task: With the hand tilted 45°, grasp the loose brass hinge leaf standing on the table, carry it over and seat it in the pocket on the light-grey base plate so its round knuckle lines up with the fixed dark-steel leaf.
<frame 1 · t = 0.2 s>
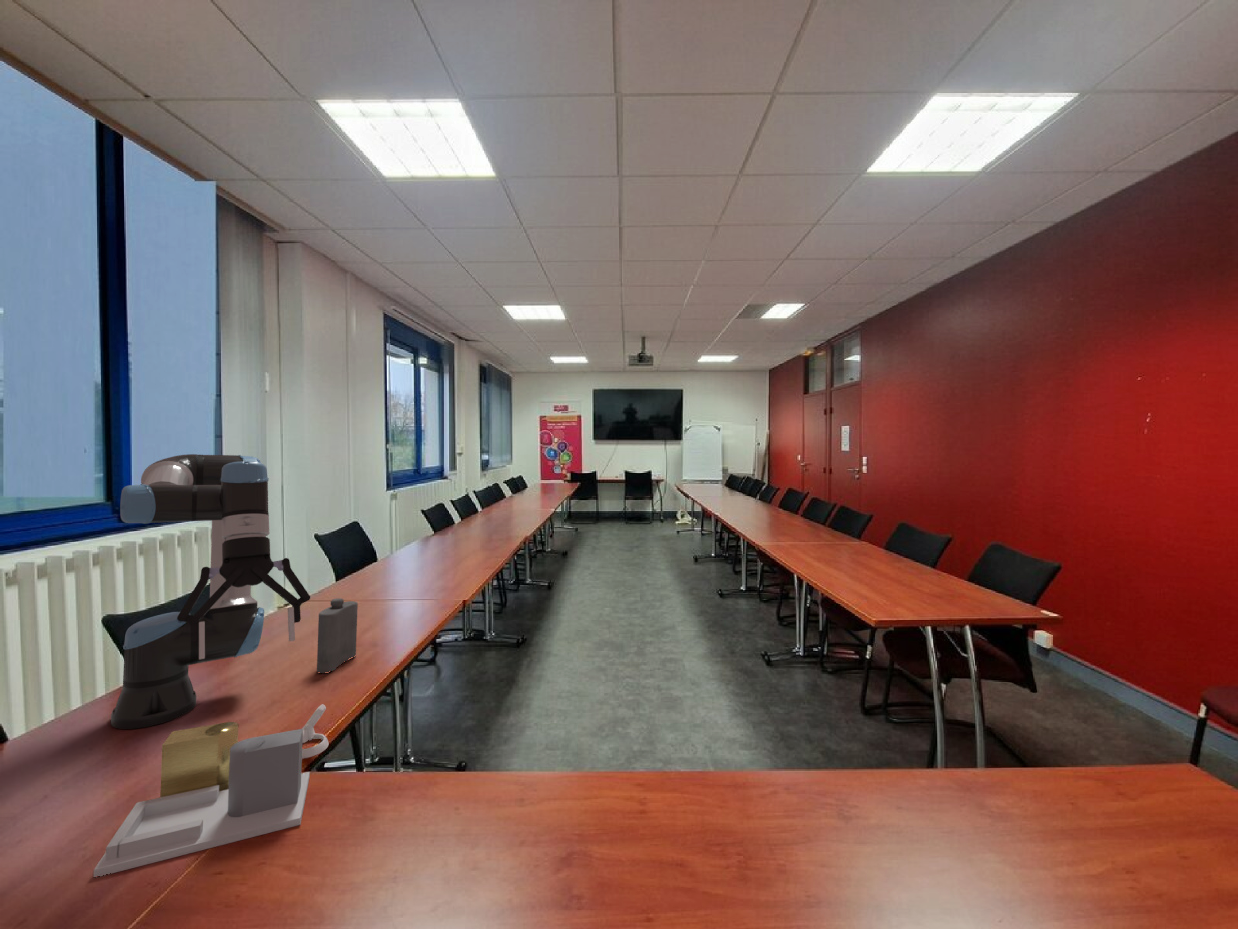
hand: (249, 649, 92), 27 cm above the table, tool tilted 15°, fingers open, 13 cm apart
hook: (308, 749, 107), on the table
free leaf: (193, 792, 92), on the table
hinge base: (171, 831, 82), on the table
flask: (335, 664, 151), on the table
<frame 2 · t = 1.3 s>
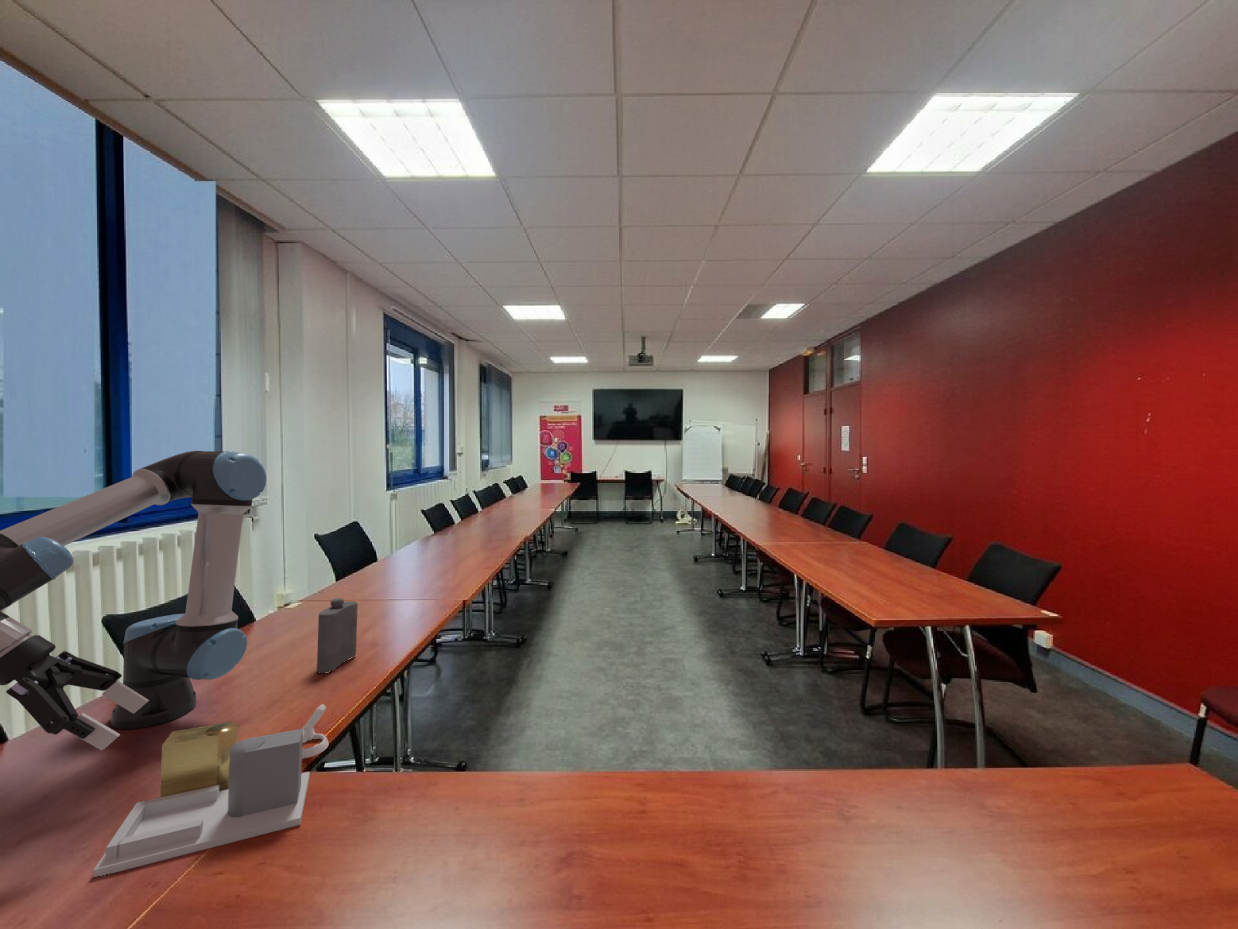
hand: (127, 723, 87), 15 cm above the table, tool tilted 45°, fingers open, 13 cm apart
nothing on the table moved.
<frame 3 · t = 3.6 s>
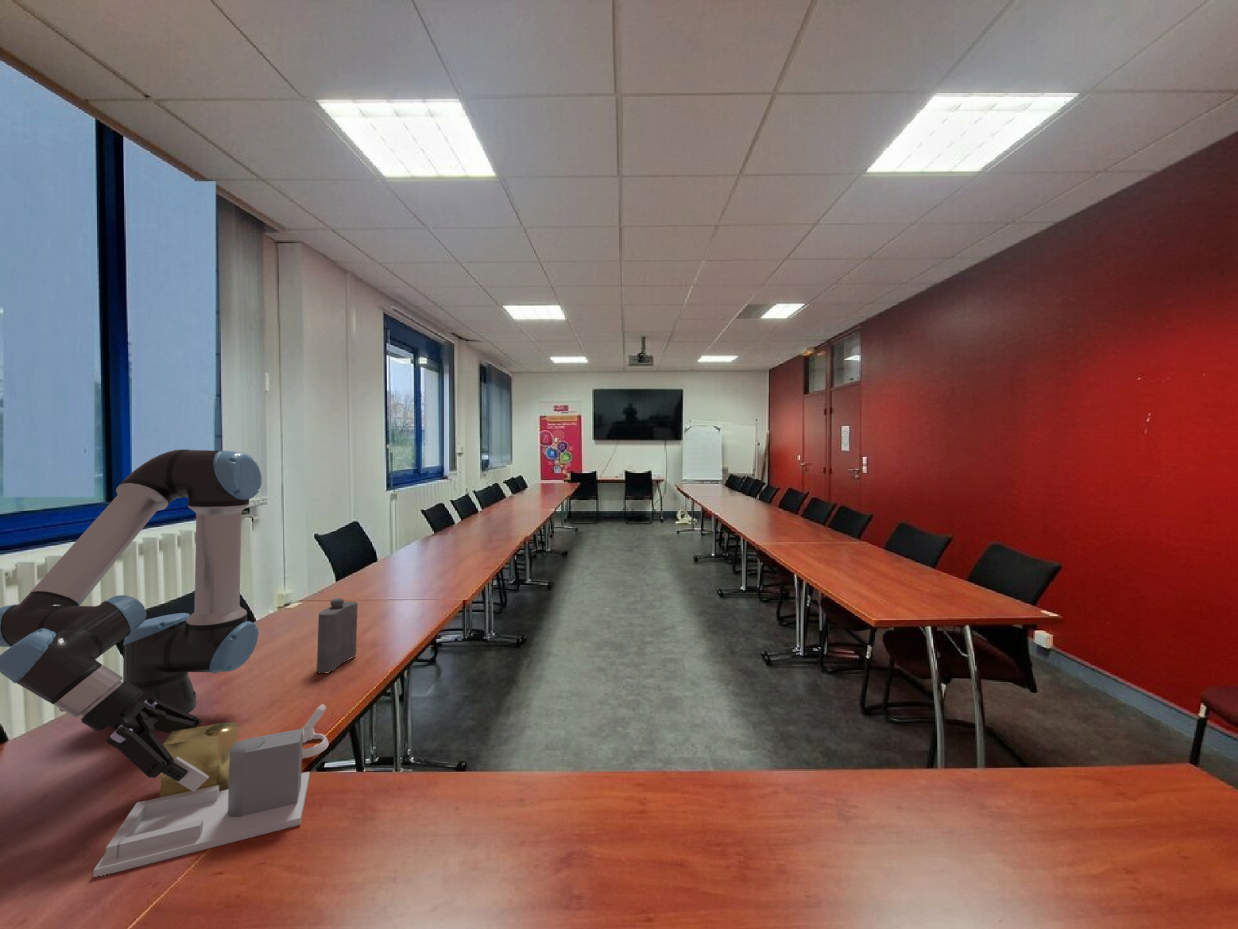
hand: (211, 767, 92), 4 cm above the table, tool tilted 45°, fingers open, 10 cm apart
nothing on the table moved.
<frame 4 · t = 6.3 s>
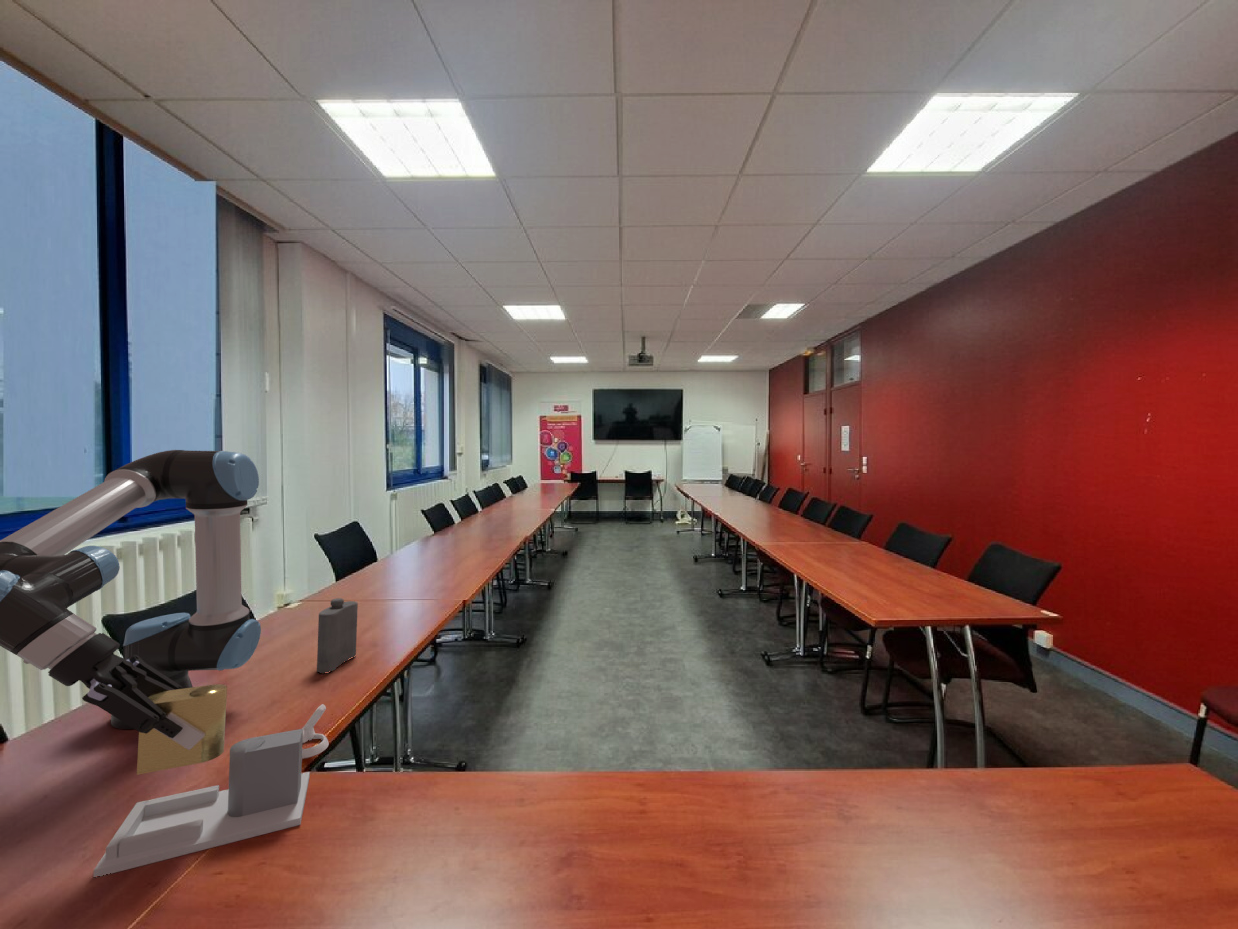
hand: (202, 733, 84), 16 cm above the table, tool tilted 45°, fingers closed on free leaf, 5 cm apart
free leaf: (174, 760, 82), point 12 cm above the table, touching gripper
everything else where it was.
when the fingers open (6 cm above the table, at t = 8.2 s): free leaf stays where it is, resting on hinge base.
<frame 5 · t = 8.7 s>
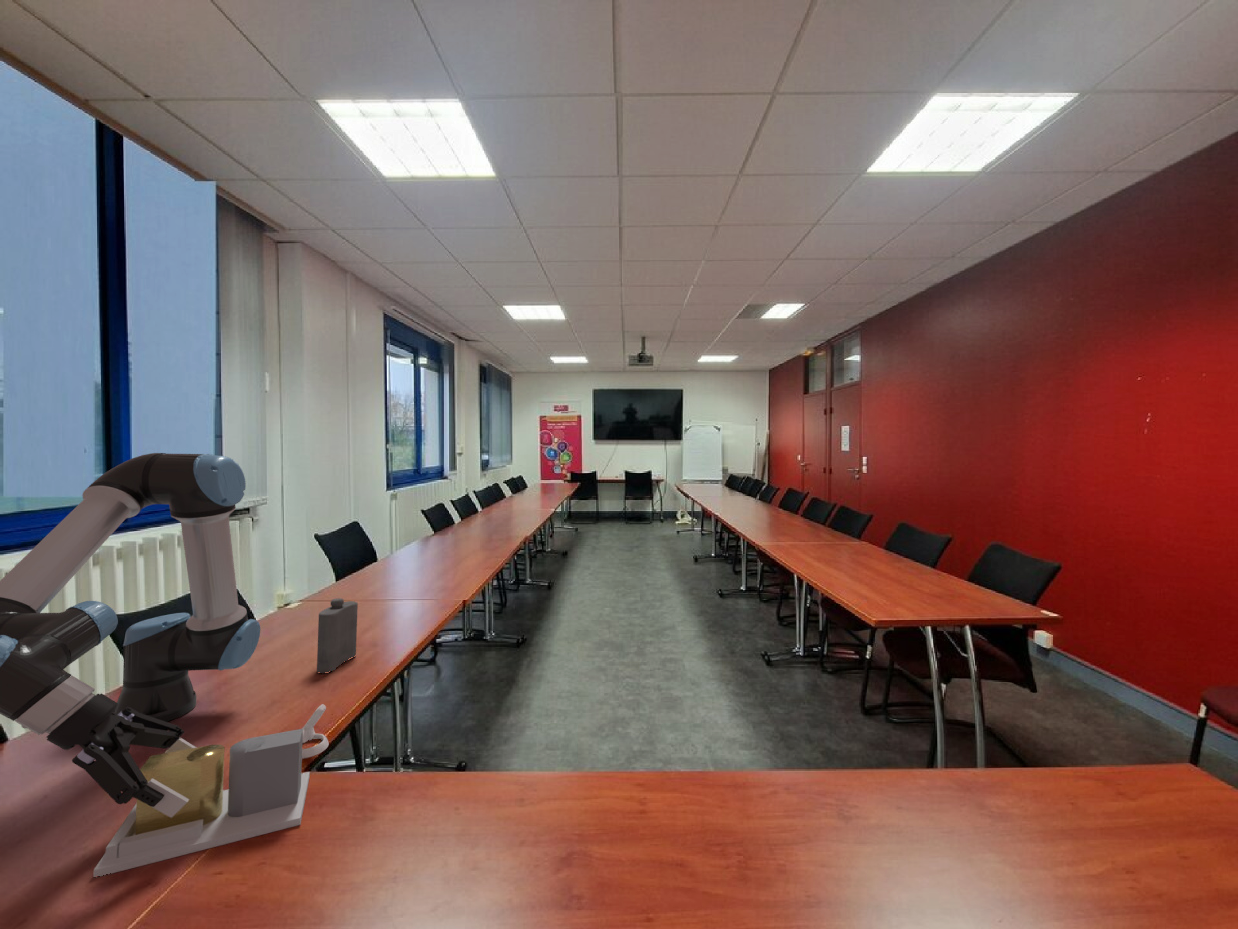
hand: (193, 785, 83), 7 cm above the table, tool tilted 45°, fingers open, 12 cm apart
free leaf: (173, 823, 82), point 1 cm above the table, touching hinge base
everything else where it was.
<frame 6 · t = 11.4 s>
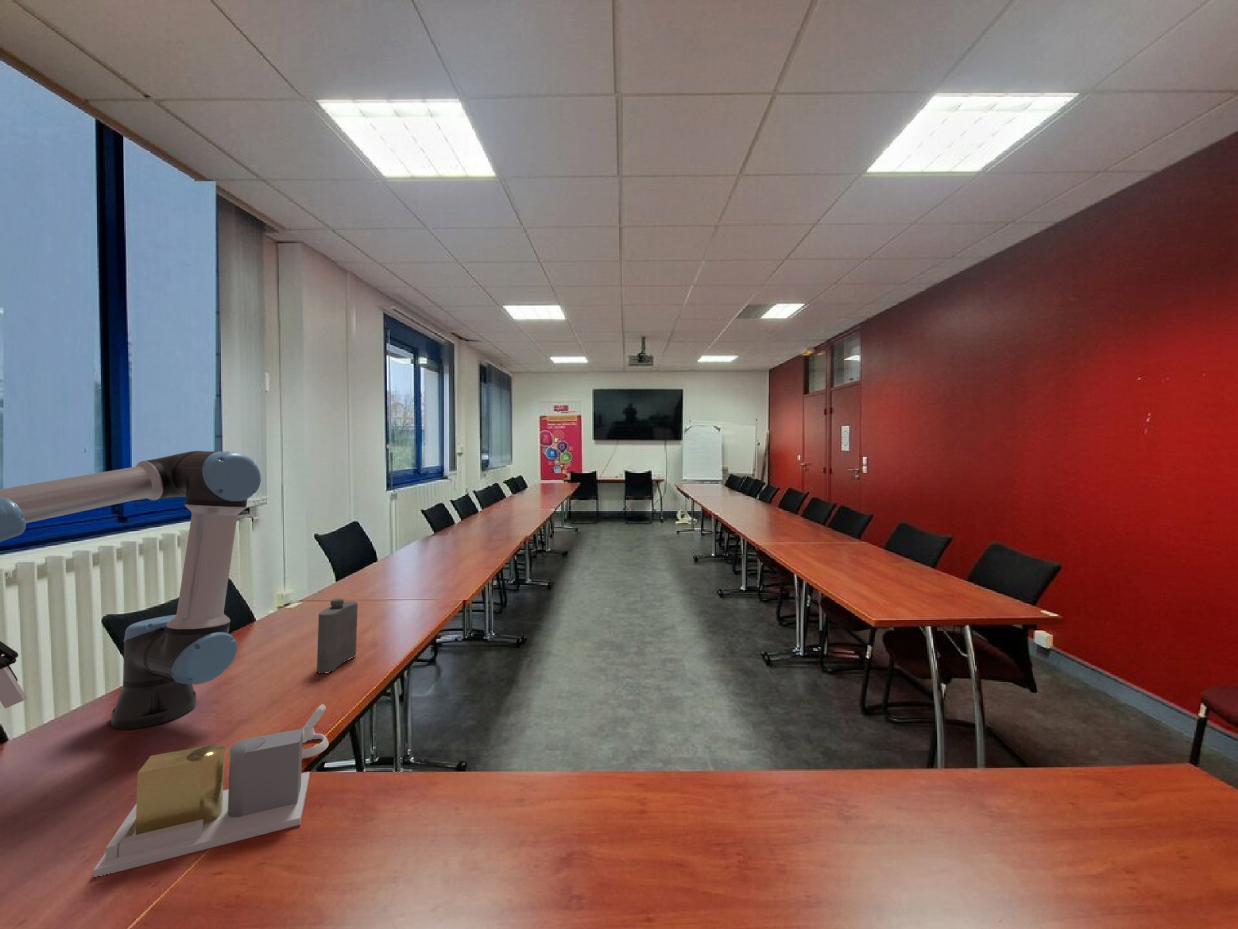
nothing on the table moved.
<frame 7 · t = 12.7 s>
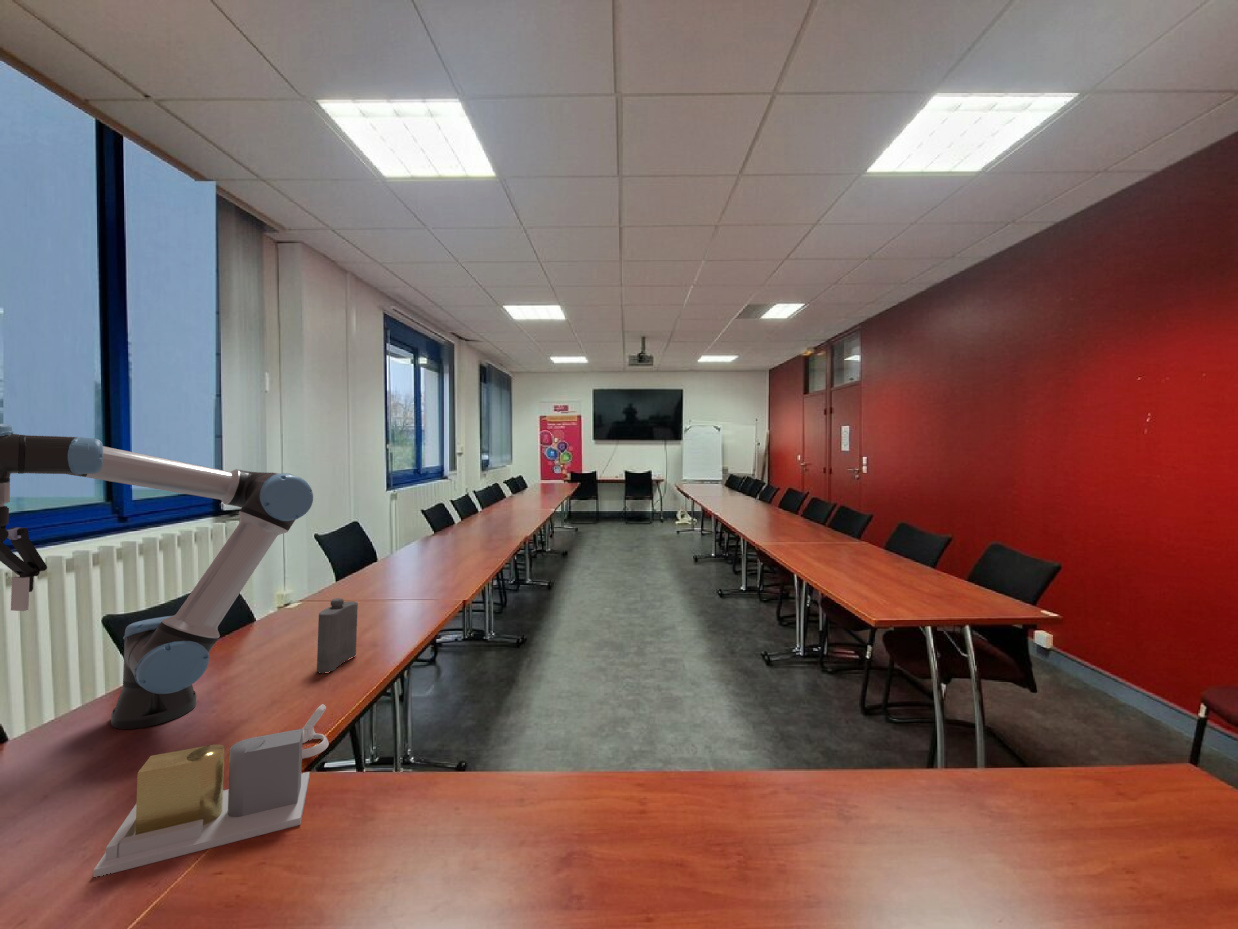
nothing on the table moved.
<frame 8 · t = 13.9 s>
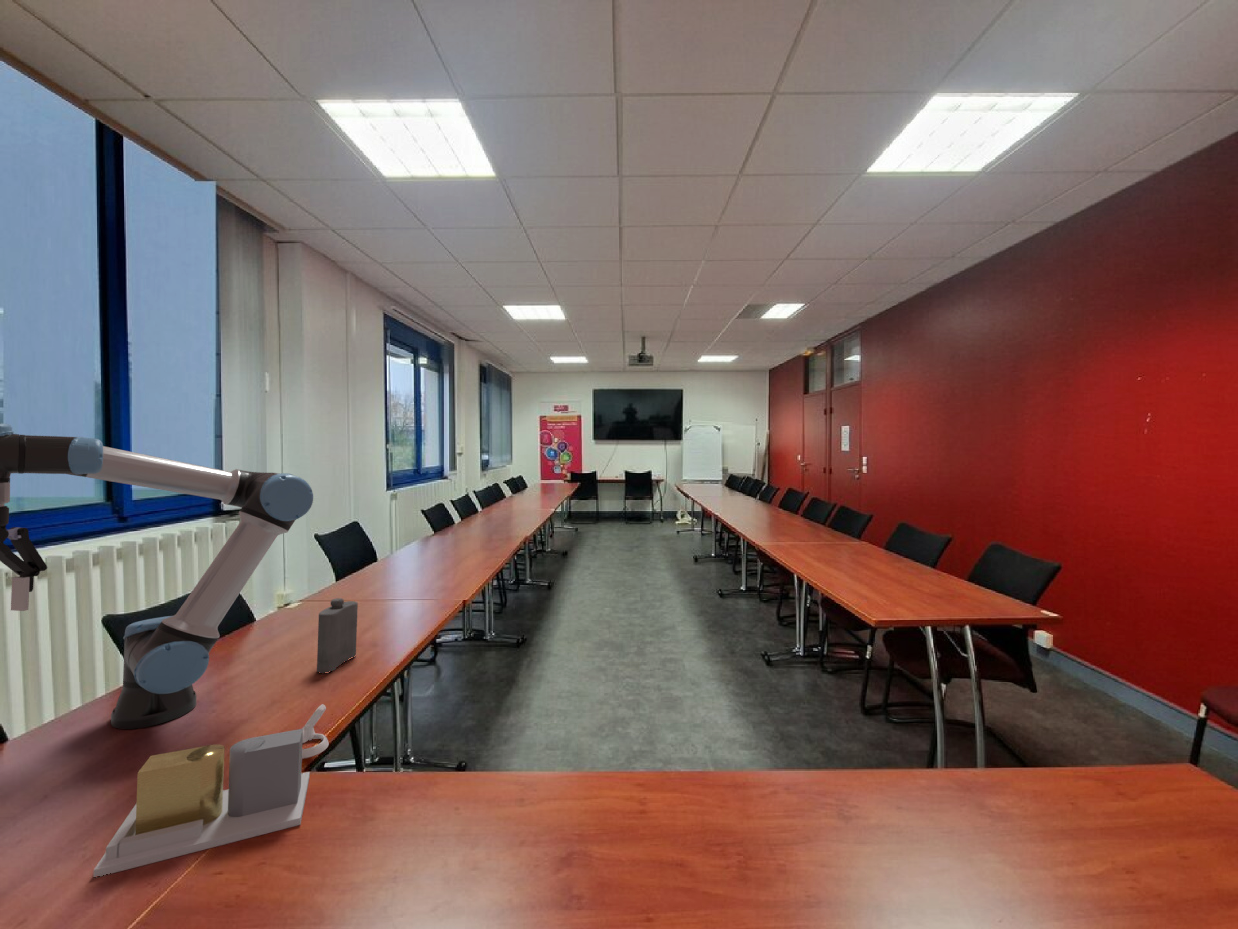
nothing on the table moved.
at the end: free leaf 0.2 cm off-centre on the hinge base, point 1.2 cm above the hinge base's base; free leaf tilted 0°; the gripper is holding nothing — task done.
